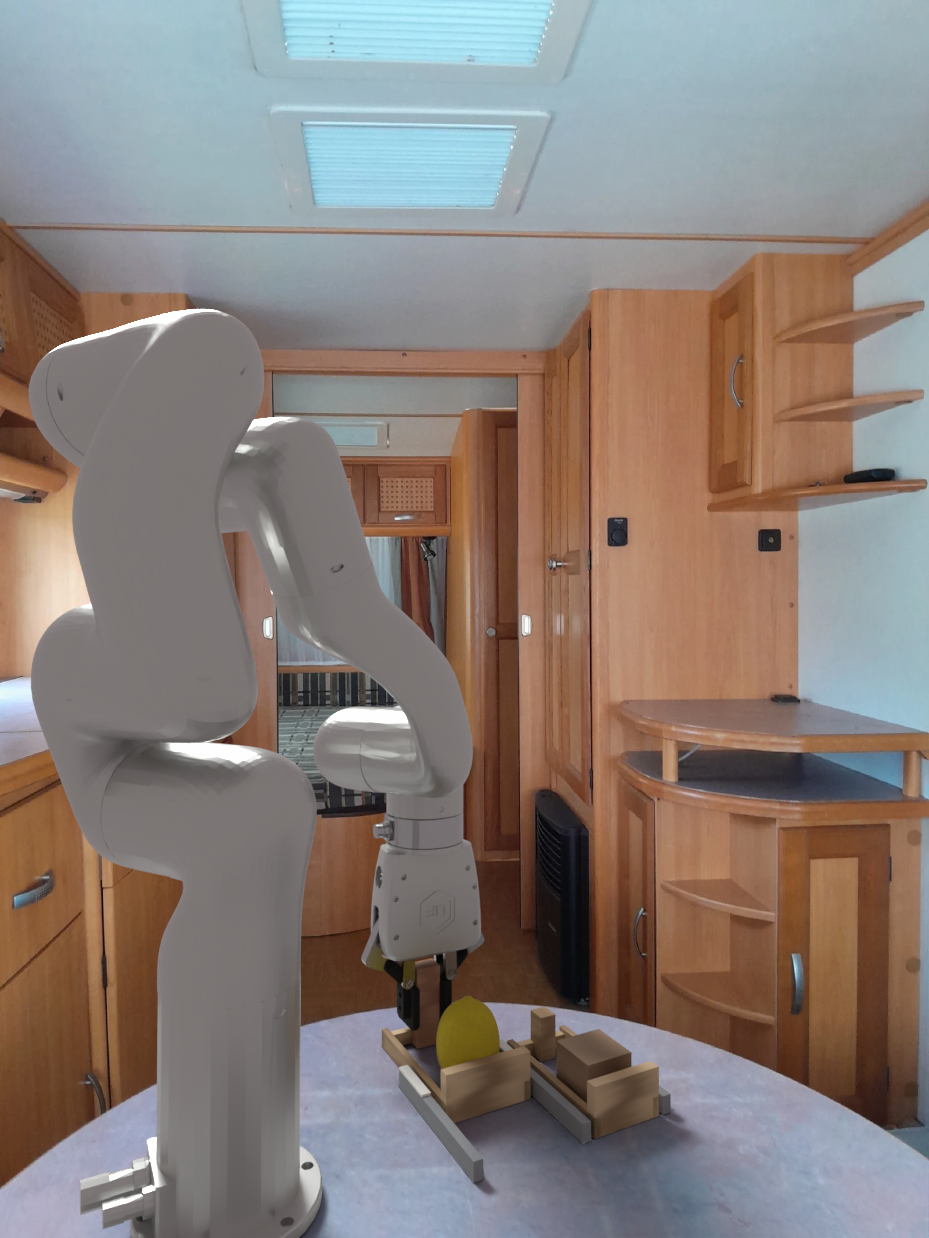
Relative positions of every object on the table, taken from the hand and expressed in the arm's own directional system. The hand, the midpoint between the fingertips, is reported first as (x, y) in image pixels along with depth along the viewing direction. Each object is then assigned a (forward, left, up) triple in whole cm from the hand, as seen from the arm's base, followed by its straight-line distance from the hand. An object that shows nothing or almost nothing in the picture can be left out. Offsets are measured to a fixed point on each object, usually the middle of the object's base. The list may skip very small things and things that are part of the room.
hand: (424, 1019), depth 77 cm
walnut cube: (+9, -15, -2) cm, 18 cm away
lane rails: (0, -13, -2) cm, 13 cm away
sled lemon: (0, -6, -2) cm, 6 cm away
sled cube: (+9, -13, -2) cm, 16 cm away
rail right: (+13, -14, -2) cm, 19 cm away
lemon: (0, -9, -2) cm, 9 cm away
